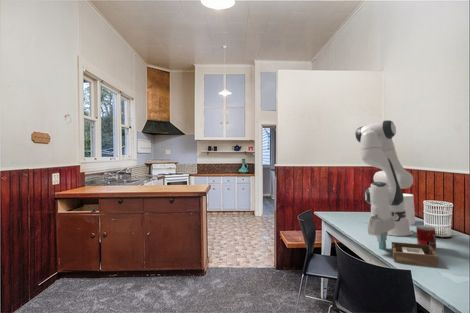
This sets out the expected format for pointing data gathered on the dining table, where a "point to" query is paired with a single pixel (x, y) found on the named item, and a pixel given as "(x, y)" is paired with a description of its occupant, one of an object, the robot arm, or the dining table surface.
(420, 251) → the plate
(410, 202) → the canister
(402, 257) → the box
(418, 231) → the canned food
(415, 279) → the dining table surface
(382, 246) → the peg
